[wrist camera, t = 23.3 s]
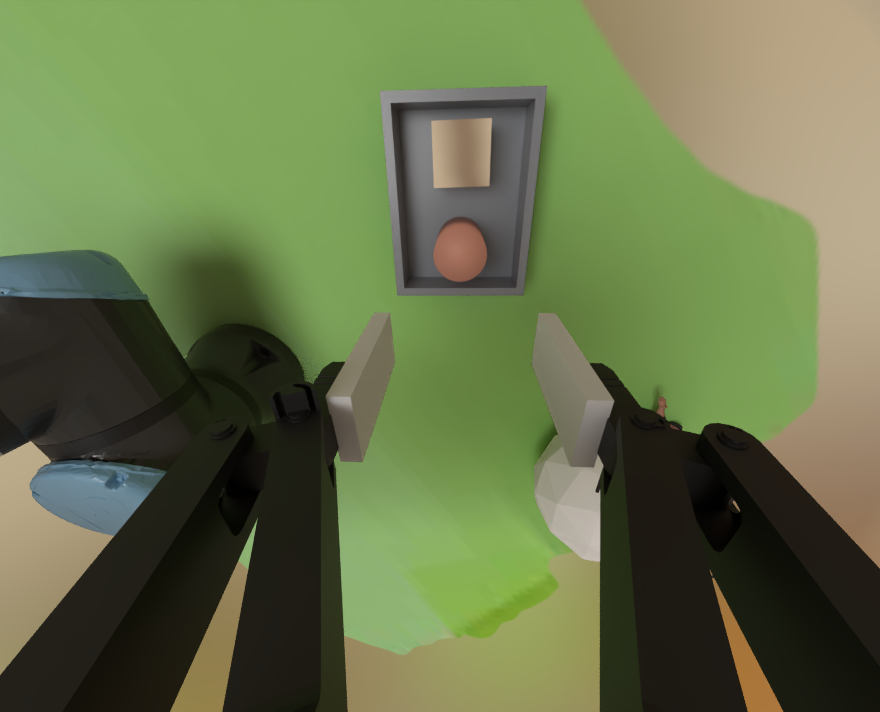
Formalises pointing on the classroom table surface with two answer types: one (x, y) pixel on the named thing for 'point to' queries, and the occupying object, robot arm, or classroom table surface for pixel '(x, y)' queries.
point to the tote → (490, 207)
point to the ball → (573, 497)
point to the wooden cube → (461, 152)
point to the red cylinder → (460, 250)
